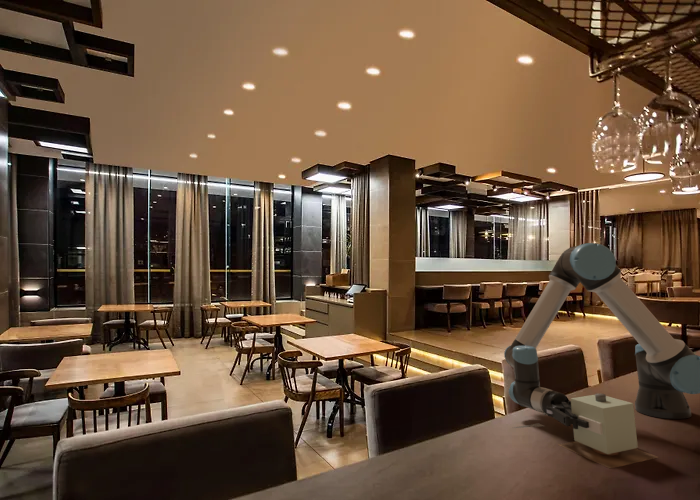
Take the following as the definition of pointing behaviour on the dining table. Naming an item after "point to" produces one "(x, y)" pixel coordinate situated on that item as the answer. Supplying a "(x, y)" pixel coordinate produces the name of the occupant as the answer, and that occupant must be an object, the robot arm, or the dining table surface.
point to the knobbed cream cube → (606, 423)
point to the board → (608, 460)
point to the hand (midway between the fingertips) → (617, 425)
